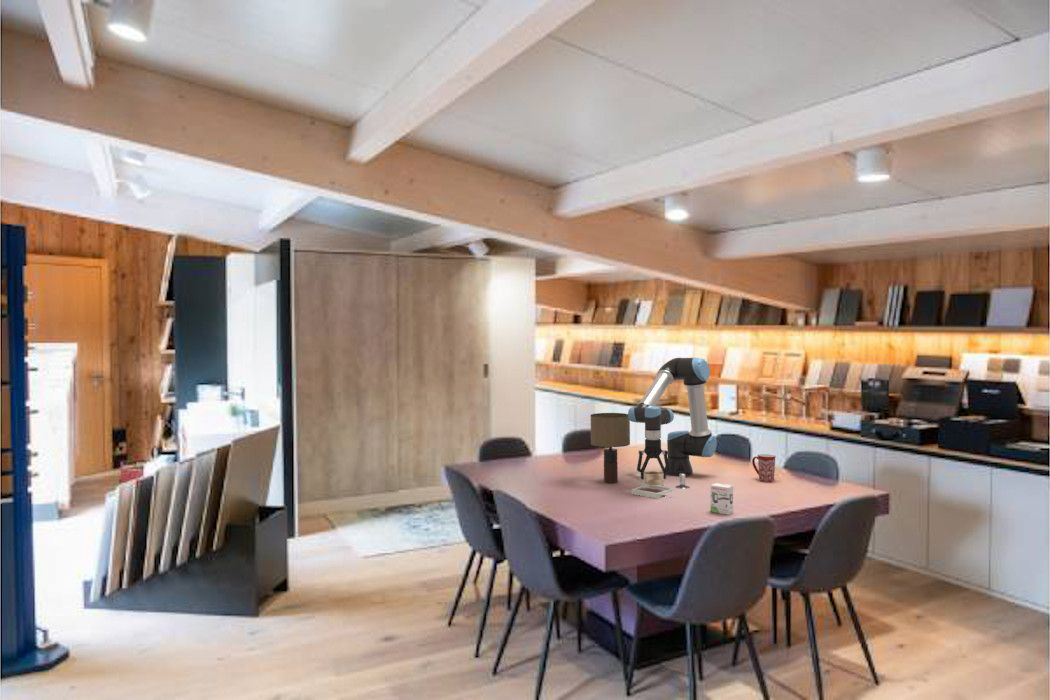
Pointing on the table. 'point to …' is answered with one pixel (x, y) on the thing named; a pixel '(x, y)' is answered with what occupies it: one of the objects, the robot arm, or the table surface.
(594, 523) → the table surface
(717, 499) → the ink box
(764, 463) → the mug
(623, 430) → the lamp
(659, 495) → the tray
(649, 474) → the tan wooden frame
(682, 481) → the grey glass rounded piece
